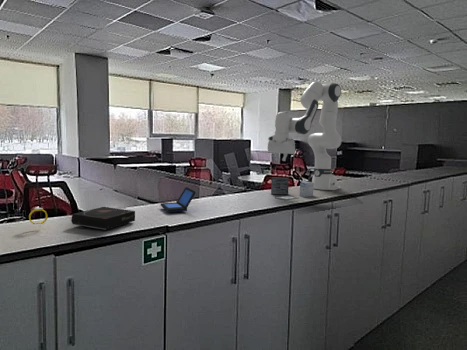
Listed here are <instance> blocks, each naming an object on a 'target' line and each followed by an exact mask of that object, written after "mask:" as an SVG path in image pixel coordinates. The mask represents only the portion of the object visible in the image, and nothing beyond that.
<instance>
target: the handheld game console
mask: <svg viewBox="0 0 467 350" xmlns="http://www.w3.org/2000/svg"><path fill="white" fill-rule="evenodd" d="M195 195H196V191H195V190H193V189H191V188H189V187H184V189H183V191H182V193H181V194H180V196H179V197H178V199H177V200H176V201H175V202H162V203H160V207H162V208H163V209H164V210H165V211H167V212H168V213H169V212H170V213H171V212H172V213H173V212H187V211H188V207H189V205H190V204H191V202H192V200H193V198H194V197H195Z"/></svg>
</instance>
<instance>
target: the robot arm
mask: <svg viewBox="0 0 467 350" xmlns="http://www.w3.org/2000/svg"><path fill="white" fill-rule="evenodd" d="M341 94H342V88H341V86H340V85H339V83H321V82H320V81H313V82H311V83H310V84H309V85H308V86H307V87H306V88H305V90H304V91H303V92H302V94H301V96H300V101H299V102H300V104H301V106H302V107H303V108H304V109H306V112H305V114H304V115H303V116H301V117H293V116H292V115H291V114H290V112H289V111H280V112H279V111H278V112H276V116H275V120H274V127H275V129H274V130H275V131H274V134H273V135H271V136H268V138H267V140H268V142H267V152H268V153H274V157H275V161H280V156H279V154H283V157H282V158H281V161H283V162H286V160H287V157H288V154H289V155H294V154H295V153H296V145H295V143H296V142H295V141H296V140H294V138H293V137H291V138H290V134H299V135H306V134H308V133H309V131H311V127H312V123H313V121H314V118H315V116H316V114H317V112H318V109H319V101H320V102H321V101H322V107H321V110H320V114H319V115H320V117H319V122H318V124H319V125H320V126H321V127H322V131H323V132H314V133H311V134H310V135H308V137H307V138H308V139H307V143H308V145H309V146H310V147H311V149H312V152H313V154H314V168H313V176H312V179H311V182H312V183H314V188H313V190H322V191H326V190H327V191H328V190H329V191H335V190H339V189H342V187H341V186H339V184H338V183H339V181H338V179H337V178H336V177H335V176H334V175H333V173H334V172H335V168H334V169H332V156H331V155H329V154H328V152H327V149H328V150H334V149H338V148H339V147H340V146H341V145H342V137H341V135H340V134H339V132H338V129H337V117H338V113H339V112H338V109H339V99H340V97H341Z"/></svg>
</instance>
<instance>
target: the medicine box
mask: <svg viewBox="0 0 467 350" xmlns="http://www.w3.org/2000/svg"><path fill="white" fill-rule="evenodd" d="M313 188H314V183H312V181H302V182H300V183H299V197H303V198H304V197H305V198H307V197H313V196H314V189H313Z"/></svg>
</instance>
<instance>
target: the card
mask: <svg viewBox="0 0 467 350" xmlns="http://www.w3.org/2000/svg"><path fill="white" fill-rule="evenodd" d="M274 199H277V200H282V201H288V200H289V201H290V200H296V199H299V197H298V196H292V195H282V196H277V197H276V196H275V198H274Z"/></svg>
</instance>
